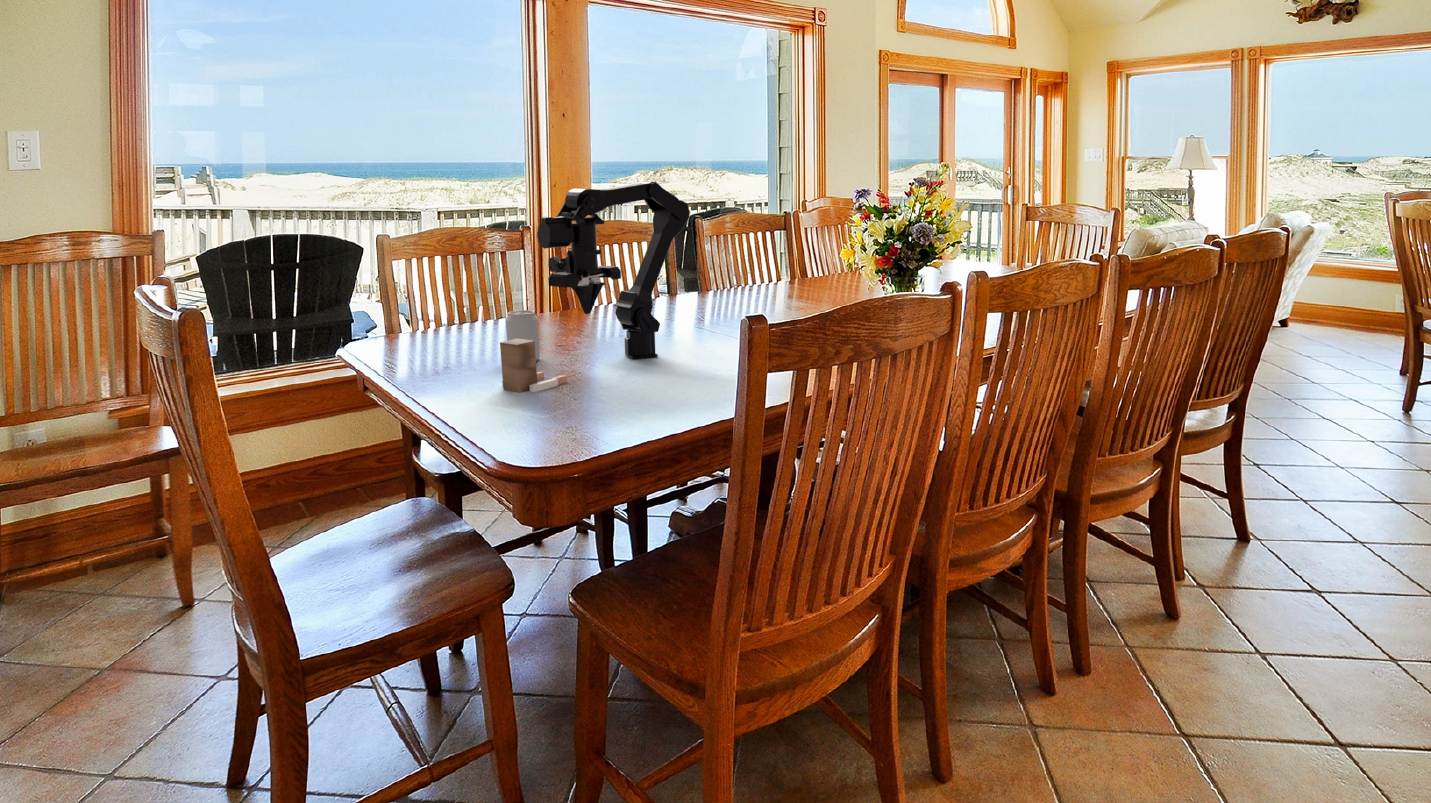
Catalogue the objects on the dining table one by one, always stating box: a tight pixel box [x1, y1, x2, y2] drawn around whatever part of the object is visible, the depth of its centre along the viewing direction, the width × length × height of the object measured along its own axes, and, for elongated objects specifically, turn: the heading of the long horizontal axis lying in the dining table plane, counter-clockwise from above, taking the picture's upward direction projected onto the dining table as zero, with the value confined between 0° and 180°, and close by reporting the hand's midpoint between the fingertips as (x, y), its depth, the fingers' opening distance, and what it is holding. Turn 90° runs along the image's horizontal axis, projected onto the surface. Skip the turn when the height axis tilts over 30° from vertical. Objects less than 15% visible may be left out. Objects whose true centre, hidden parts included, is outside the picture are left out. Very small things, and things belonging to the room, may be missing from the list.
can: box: [505, 309, 541, 362], centre depth 227 cm, size 8×8×12 cm
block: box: [499, 339, 538, 393], centre depth 199 cm, size 5×5×10 cm
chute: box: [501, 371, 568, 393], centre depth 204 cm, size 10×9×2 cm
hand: (587, 313), depth 220 cm, fingers closed
